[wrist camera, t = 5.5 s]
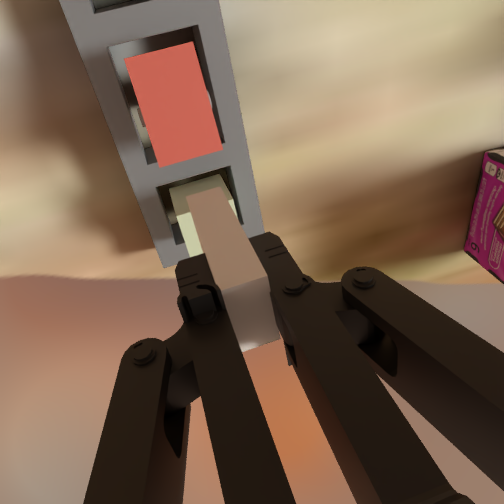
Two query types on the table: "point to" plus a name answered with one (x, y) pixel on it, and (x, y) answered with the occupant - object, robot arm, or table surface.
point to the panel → (122, 122)
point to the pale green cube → (184, 212)
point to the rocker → (174, 103)
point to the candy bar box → (489, 216)
